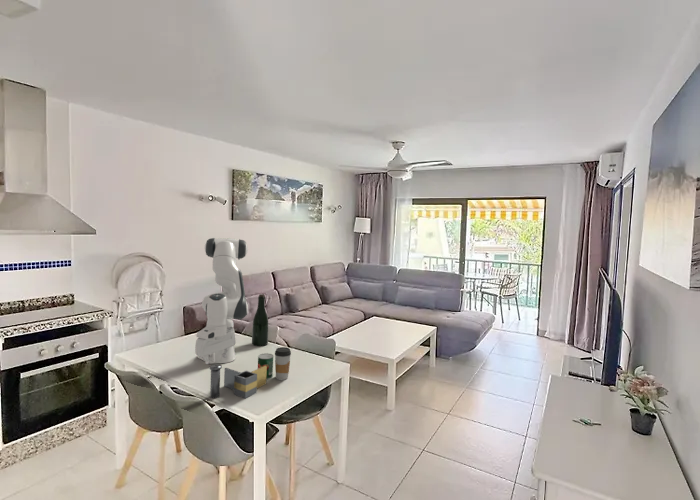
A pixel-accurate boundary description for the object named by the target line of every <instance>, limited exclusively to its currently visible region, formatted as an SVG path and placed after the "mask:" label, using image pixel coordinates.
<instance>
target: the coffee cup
mask: <svg viewBox="0 0 700 500" xmlns="http://www.w3.org/2000/svg"><path fill="white" fill-rule="evenodd" d="M274 355H275V356H274V357H275V360H274V362H275V363H274V364H275V365H274V366H275V378H276V380H279V381H285V380H287V379H288V378H289V373H290V365H291V355H292V350H291V349H290V348H289V347H286V346H285V347H284V346H281V347H280V346H279V347H277V348H276V349H275V351H274Z"/></svg>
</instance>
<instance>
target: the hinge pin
mask: <svg viewBox="0 0 700 500" xmlns="http://www.w3.org/2000/svg"><path fill="white" fill-rule="evenodd" d="M222 366H223V365H222V364H221V363H214V364H210V365H209V370H210V385H209V386H210V388H209V389H210V391H209V392H210V394H209V397H210V399H218V398H219V397H220V391H221V390H220V389H221V388H220V386H221V369H222V368H223V367H222Z"/></svg>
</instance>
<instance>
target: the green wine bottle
mask: <svg viewBox="0 0 700 500" xmlns="http://www.w3.org/2000/svg"><path fill="white" fill-rule="evenodd" d="M265 301H266V296H265V294H262V293H260V294H259V295H258V297H257V307H256V311H255V313H254V316H253V320H252V328H251V331H252V332H251V345H252V346H255V347H265V346H267V345H268V344H269V317H268V314H267V311H266V302H265Z"/></svg>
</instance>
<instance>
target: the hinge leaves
mask: <svg viewBox="0 0 700 500" xmlns="http://www.w3.org/2000/svg"><path fill="white" fill-rule="evenodd" d="M266 373H267V366H264V367H261V368H259V369H258V368H257V369H254V370H253V371H249V370H244V371H242V372H241V371H238V370H234V369H231V368H229V367H225V368H224V375H223V376H224V377H223V387H224V388H228V389H230V390H233V394H234V396H238V397H240V398H243V399H248V398H249V397H251V396H253V395H255V394H257V391H258V390H257V389H259V388H261V387H263V386H264V385H266V384H267V379H266Z"/></svg>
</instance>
